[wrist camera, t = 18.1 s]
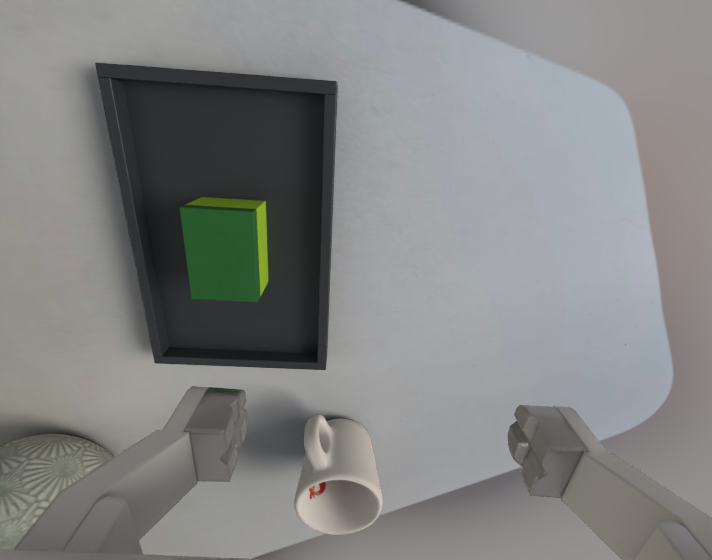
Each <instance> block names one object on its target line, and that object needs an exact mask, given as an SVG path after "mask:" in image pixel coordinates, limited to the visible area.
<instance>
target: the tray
mask: <svg viewBox="0 0 712 560" xmlns="http://www.w3.org/2000/svg"><path fill="white" fill-rule="evenodd" d="M95 65H96V70H97V75H98V79H99V84H100V89H101V94H102V99H103V104H104V109H105V114H106V120H107V125H108V130H109V135H110V140H111V145H112V150H113V155H114V160H115V165H116V170H117V175H118V180H119V185H120V190H121V195H122V200H123V205H124V211H125V216H126V221H127V226H128V231H129V236H130V241H131V246H132V251H133V256H134V261H135V266H136V271H137V276H138V281H139V286H140V291H141V296H142V302H143V307H144V312H145V317H146V322H147V327H148V332H149V337H150V342H151V347H152V352H153V356H154V362H155V363H162V364H187V365H212V366H237V367H262V368H287V369H312V370H326V362H327V344H328V318H329V293H330V268H331V242H332V217H333V191H334V166H335V141H336V115H337V90H338V85H337V82H336V81H325V80H312V79H299V78H286V77H274V76H261V75H248V74H235V73H222V72H209V71H196V70H183V69H171V68H158V67H145V66H132V65H119V64H106V63H95ZM201 197H211V198H226V199H242V200H258V201H266V224H267V253H268V283H267V285H266V287H265V289H264V291H263V293H262V295H261V296H260V298H259V300H258V302H244V301H225V300H205V299H192V298H191V291H190V283H189V276H188V268H187V260H186V253H185V245H184V238H183V230H182V223H181V215H180V207H182V206H184V205H186V204H188V203H190V202H192V201H194V200H196V199H199V198H201Z"/></svg>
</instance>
